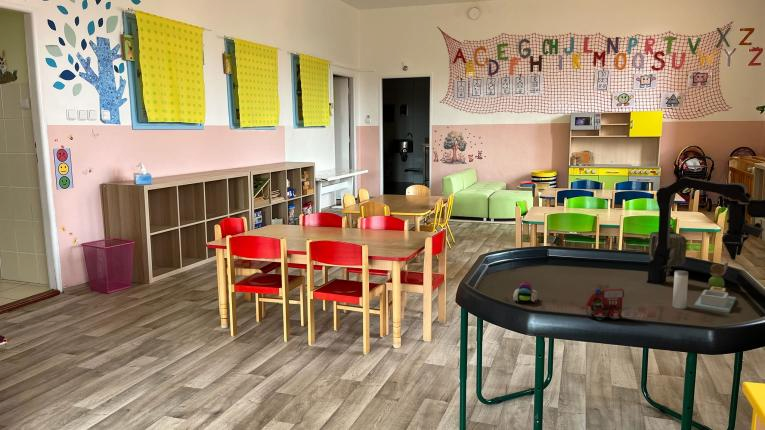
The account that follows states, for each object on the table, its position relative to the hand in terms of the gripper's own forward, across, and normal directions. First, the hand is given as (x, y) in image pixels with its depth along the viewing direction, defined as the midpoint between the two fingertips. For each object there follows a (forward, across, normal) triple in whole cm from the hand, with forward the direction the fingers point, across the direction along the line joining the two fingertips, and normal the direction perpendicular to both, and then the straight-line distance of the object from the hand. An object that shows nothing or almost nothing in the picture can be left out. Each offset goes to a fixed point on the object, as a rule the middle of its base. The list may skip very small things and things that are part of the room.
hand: (736, 257), depth 228 cm
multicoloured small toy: (+12, -56, +59) cm, 82 cm away
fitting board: (+14, -17, +3) cm, 23 cm away
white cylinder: (+14, -29, +12) cm, 34 cm away
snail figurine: (+14, +4, +7) cm, 16 cm away
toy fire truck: (+13, -56, +29) cm, 65 cm away
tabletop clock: (+13, +19, +30) cm, 38 cm away
